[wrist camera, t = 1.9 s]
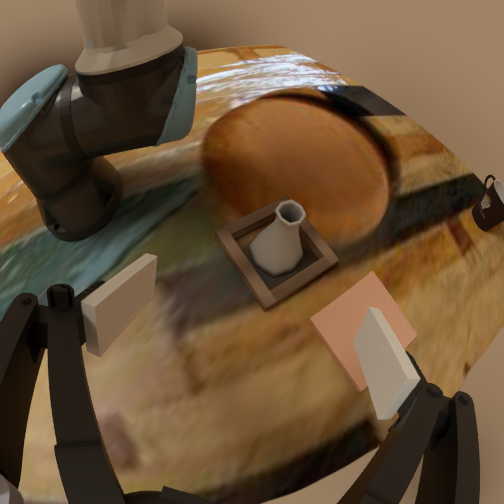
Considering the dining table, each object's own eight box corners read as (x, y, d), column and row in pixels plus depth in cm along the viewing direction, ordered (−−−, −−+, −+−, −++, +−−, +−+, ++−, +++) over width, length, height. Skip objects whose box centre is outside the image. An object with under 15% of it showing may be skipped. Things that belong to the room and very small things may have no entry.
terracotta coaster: (307, 320, 34) (309, 318, 33) (368, 273, 38) (372, 270, 37) (357, 391, 30) (361, 391, 29) (412, 336, 34) (417, 335, 33)
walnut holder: (215, 238, 38) (215, 231, 36) (284, 203, 42) (287, 195, 40) (264, 311, 34) (266, 307, 32) (333, 265, 38) (338, 259, 36)
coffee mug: (490, 242, 44) (518, 220, 35) (467, 220, 46) (495, 194, 37) (491, 211, 49) (514, 189, 40) (470, 190, 50) (492, 166, 41)
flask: (278, 221, 40) (293, 176, 31) (311, 257, 38) (336, 220, 29) (238, 246, 38) (243, 204, 29) (272, 287, 36) (288, 255, 27)
